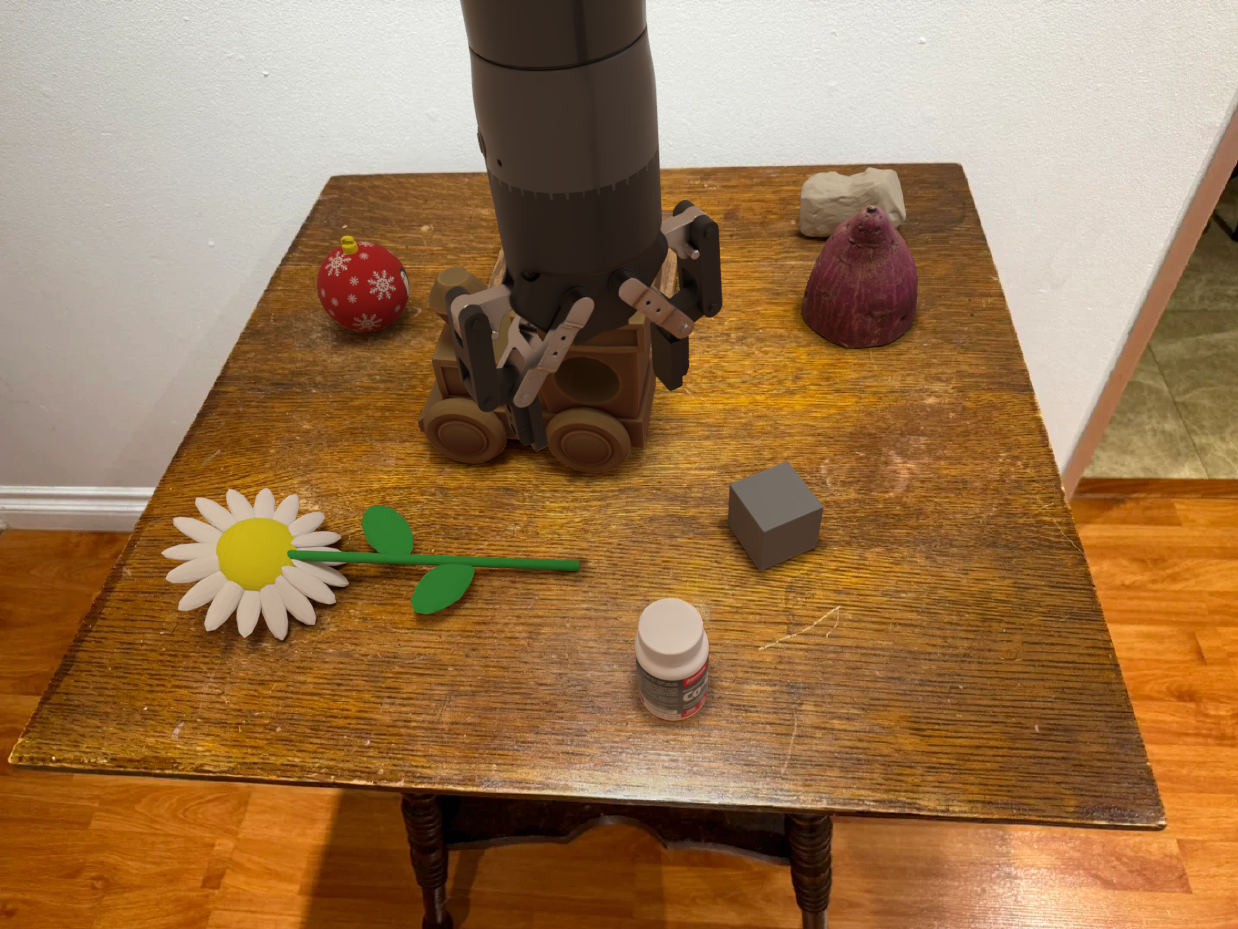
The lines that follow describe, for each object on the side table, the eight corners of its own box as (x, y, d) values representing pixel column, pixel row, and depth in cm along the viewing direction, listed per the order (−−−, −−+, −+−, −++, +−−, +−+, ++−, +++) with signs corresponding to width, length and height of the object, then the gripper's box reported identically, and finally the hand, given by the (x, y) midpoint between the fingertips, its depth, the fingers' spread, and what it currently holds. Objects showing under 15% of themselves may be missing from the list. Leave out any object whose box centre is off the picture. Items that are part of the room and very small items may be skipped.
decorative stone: (899, 180, 97) (924, 141, 87) (889, 262, 96) (912, 232, 86) (799, 169, 98) (811, 129, 88) (788, 250, 97) (799, 220, 87)
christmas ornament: (344, 295, 92) (312, 211, 85) (425, 293, 91) (401, 208, 84) (323, 351, 86) (287, 266, 79) (409, 349, 86) (382, 263, 78)
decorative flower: (580, 518, 74) (209, 503, 72) (582, 483, 70) (191, 467, 68) (575, 660, 66) (159, 647, 64) (577, 629, 62) (135, 615, 60)
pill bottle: (695, 732, 59) (695, 670, 52) (628, 709, 60) (620, 646, 54) (717, 670, 61) (719, 605, 55) (652, 650, 63) (648, 584, 56)
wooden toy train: (669, 389, 80) (665, 231, 67) (652, 486, 73) (643, 329, 60) (457, 374, 83) (414, 221, 70) (420, 466, 76) (365, 314, 63)
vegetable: (883, 381, 83) (919, 285, 70) (782, 338, 86) (798, 238, 72) (927, 298, 87) (970, 191, 73) (829, 259, 89) (852, 149, 76)
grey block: (817, 547, 68) (824, 506, 64) (759, 572, 66) (763, 532, 63) (782, 501, 71) (787, 460, 67) (727, 524, 70) (729, 483, 66)
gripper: (449, 236, 34) (517, 506, 46) (759, 123, 38) (746, 399, 50) (384, 154, 38) (461, 420, 50) (667, 61, 42) (676, 328, 54)
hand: (603, 409), depth 50 cm, fingers open, 8 cm apart
